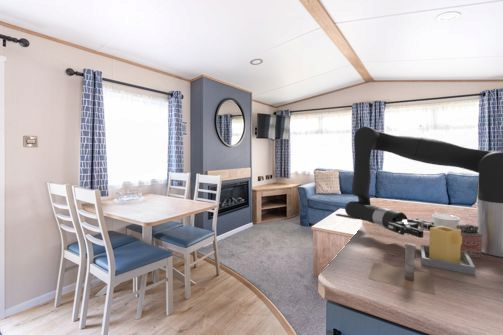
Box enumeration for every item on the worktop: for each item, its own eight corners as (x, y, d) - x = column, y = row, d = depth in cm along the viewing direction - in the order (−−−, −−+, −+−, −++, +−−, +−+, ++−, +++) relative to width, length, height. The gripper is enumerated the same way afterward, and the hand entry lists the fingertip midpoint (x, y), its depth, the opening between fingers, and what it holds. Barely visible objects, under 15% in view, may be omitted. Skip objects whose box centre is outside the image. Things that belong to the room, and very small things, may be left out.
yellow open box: (429, 259, 75) (430, 227, 74) (441, 256, 77) (442, 225, 76) (452, 269, 69) (454, 234, 68) (465, 266, 70) (467, 232, 69)
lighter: (476, 252, 81) (477, 223, 80) (484, 257, 78) (486, 226, 77) (450, 252, 82) (451, 222, 81) (457, 256, 78) (458, 226, 78)
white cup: (433, 238, 95) (434, 212, 94) (459, 243, 89) (461, 216, 88) (429, 243, 89) (430, 217, 88) (457, 249, 84) (458, 221, 83)
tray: (466, 261, 75) (466, 251, 75) (474, 278, 65) (475, 267, 65) (420, 253, 81) (420, 244, 81) (422, 267, 72) (422, 257, 71)
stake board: (431, 277, 66) (432, 240, 66) (434, 298, 57) (436, 255, 56) (373, 265, 74) (374, 231, 73) (368, 282, 65) (369, 244, 64)
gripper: (374, 211, 89) (416, 223, 74) (403, 207, 94) (449, 218, 78) (373, 231, 90) (415, 247, 74) (403, 226, 94) (448, 241, 79)
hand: (432, 233), depth 76 cm, fingers open, 8 cm apart
